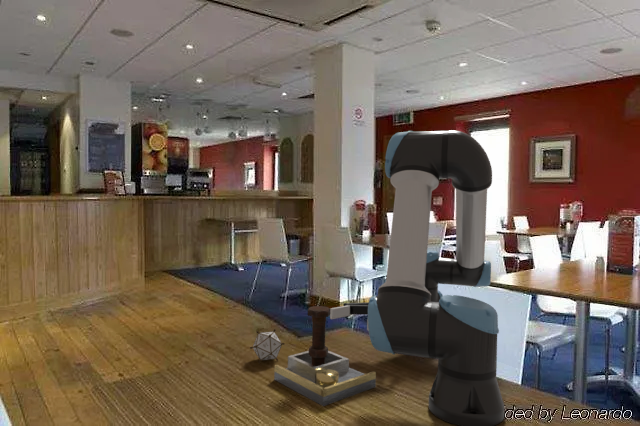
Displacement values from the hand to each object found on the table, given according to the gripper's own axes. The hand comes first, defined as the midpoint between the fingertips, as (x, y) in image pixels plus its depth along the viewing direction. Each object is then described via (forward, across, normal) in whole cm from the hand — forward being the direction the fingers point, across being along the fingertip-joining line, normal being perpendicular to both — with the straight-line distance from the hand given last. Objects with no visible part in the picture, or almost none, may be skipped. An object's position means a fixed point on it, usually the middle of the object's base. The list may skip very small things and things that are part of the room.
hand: (348, 319), depth 123 cm
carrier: (+11, -3, -13) cm, 17 cm away
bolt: (+10, 0, -11) cm, 15 cm away
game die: (+13, +18, -13) cm, 25 cm away
